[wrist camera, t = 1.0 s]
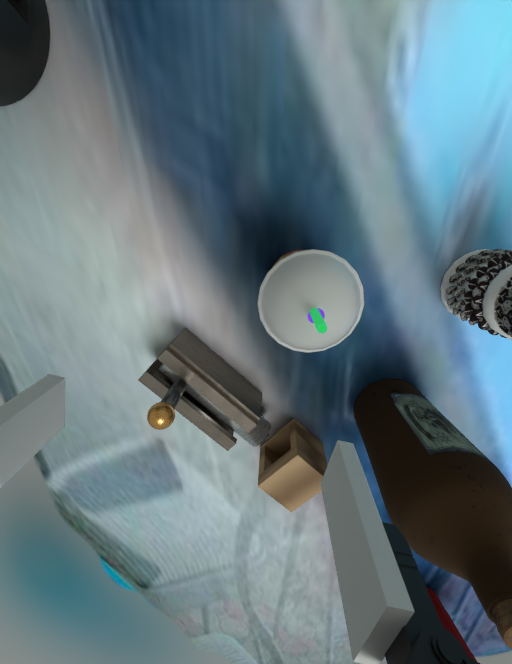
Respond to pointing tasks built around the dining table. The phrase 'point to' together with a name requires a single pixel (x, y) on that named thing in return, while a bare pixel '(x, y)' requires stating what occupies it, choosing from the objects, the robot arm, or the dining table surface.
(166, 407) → the ball knob lever
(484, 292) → the decorative candle
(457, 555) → the olive oil
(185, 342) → the outer sleeve
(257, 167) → the dining table surface
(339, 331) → the smoothie
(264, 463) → the socket block
